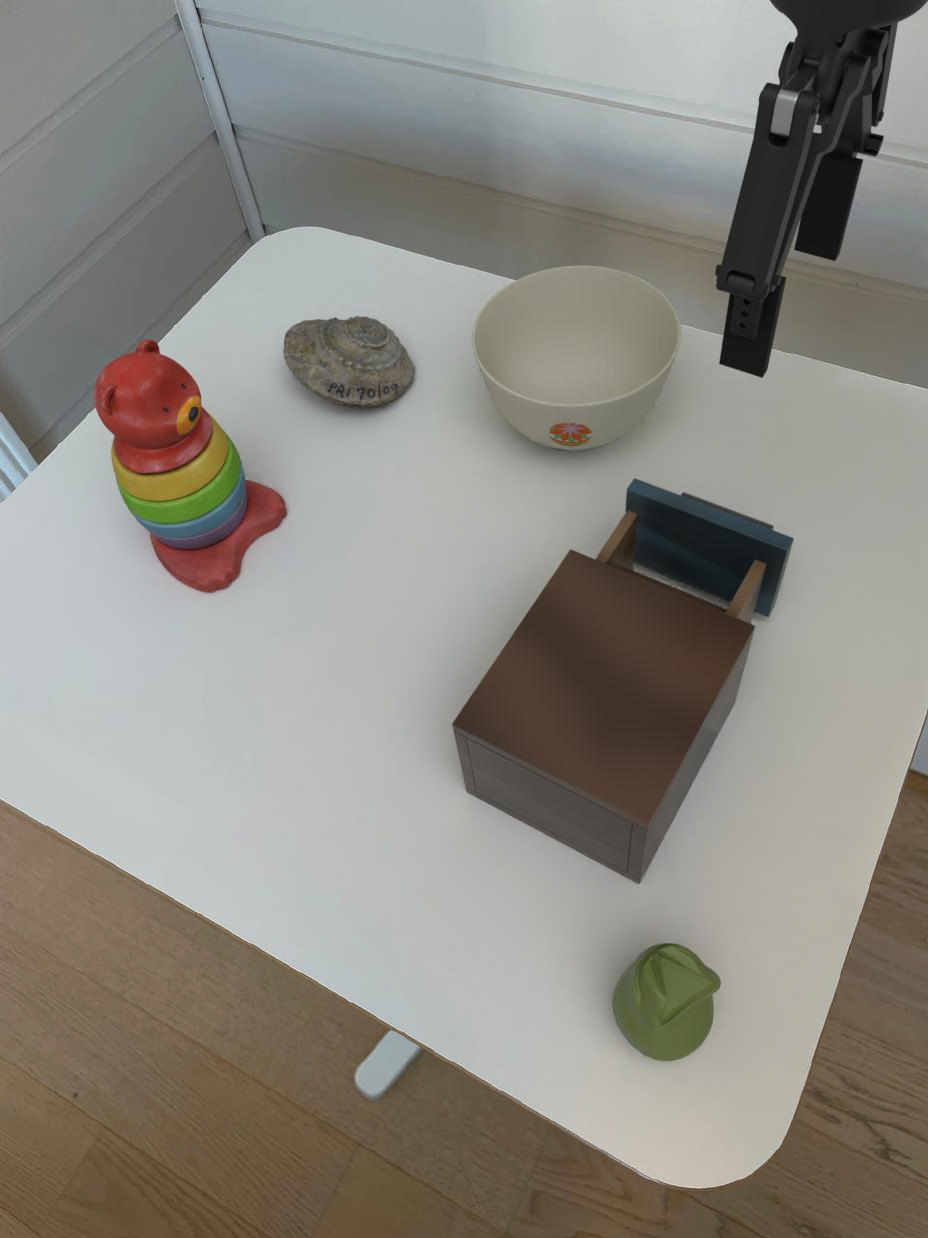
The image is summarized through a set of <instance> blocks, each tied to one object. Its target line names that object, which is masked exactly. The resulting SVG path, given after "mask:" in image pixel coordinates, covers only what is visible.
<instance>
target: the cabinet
mask: <svg viewBox="0 0 928 1238" xmlns="http://www.w3.org/2000/svg"><path fill="white" fill-rule="evenodd" d="M755 628H756V625H755V624H753V623H751V624H750V623H748V622H745V621H743V620H740V619H738V618H736V617H733V616H731V615H728V614H726V613H723V612H721V611H719V610H716V609H714V608H711V607H709V606H707V605H704V604H702V603H699V602H697V601H695V600H692V599H690V598H687V597H685V596H682V595H680V594H678V593H675V592H673V591H670V590H668V589H666V588H663V587H661V586H658V585H656V584H653V583H651V582H649V581H646V580H644V579H641V578H639V577H637V576H634V575H632V574H629V573H627V572H625V571H622V570H620V569H617V568H615V567H612V566H610V565H608V564H605V563H603V562H600V561H598V560H596V558H593V557H591V556H588V555H586V554H583V553H582V552H578V551H576V550H574V549H569V551H567V554H566V555H565V557H564V558H563V559H562V561H561V563H559V565H558V567H557V568H556V569H555V571H554V573H553V574H552V576H551V577H550V579H549V580H548V582H547V583H546V584H545V586H544V588H543V589H542V590H541V592H540V593H539V594H538V596H537V598H536V599H535V600H534V602H533V604H532V605H531V606H530V608H529V609H528V611H527V612H526V614H525V616H524V617H523V619H522V620H521V621H520V623H519V624H518V626H517V627H516V628H515V630H514V631H513V633H512V634H511V636H510V637H509V639H508V640H507V642H506V644H505V645H504V646H503V648H502V649H501V651H500V652H499V654H498V655H497V656H496V658H495V660H494V661H493V663H492V664H491V665H490V667H489V669H488V670H487V672H486V673H485V674H484V676H483V677H482V679H480V680H481V681H480V682H479V683H478V685H477V686H476V688H475V689H474V691H473V692H472V694H471V695H470V697H469V698H468V700H467V701H466V703H465V704H464V705H463V707H462V708H461V710H460V711H459V713H458V714H457V716H456V717H455V719H454V720H453V722H452V723H451V725H452V730H453V735H454V736H453V737H454V740H455V741H454V742H455V745H456V750H457V753H458V758H459V763H460V767H461V772H462V777H463V781H464V787H465V790H466V793H468V794H470V795H471V796H474V797H475V798H477V799H479V800H480V801H483V802H485V803H486V804H488V805H490V806H492V807H494V808H496V809H498V810H499V811H501V812H504V813H505V814H507V815H509V816H510V817H513V818H515V819H516V820H518V821H520V822H522V823H523V824H525V825H527V826H529V827H531V828H533V829H535V830H537V831H538V832H541V833H542V834H545V835H546V836H549V837H550V838H552V839H554V840H555V841H558V842H559V843H561V844H563V845H565V846H567V847H569V848H570V849H572V850H574V851H577V852H578V853H579V854H582V855H583V856H585V857H587V858H589V859H591V860H593V861H595V862H597V863H599V864H600V865H602V866H605V867H606V868H608V869H610V870H612V871H614V872H615V873H617V874H619V875H621V876H623V877H624V878H627V879H628V880H630V881H632V882H634V883H636V884H638V885H640V884H641V882H642V880H643V879H644V877H645V875H646V873H647V870H648V869H649V867H650V865H651V863H652V861H653V859H654V857H655V855H656V854H657V852H658V850H659V848H660V846H661V844H662V843H663V840H664V838H665V836H666V835H667V833H668V831H669V829H670V828H671V825H672V824H673V821H674V819H676V818H675V817H676V816H677V814H678V812H679V811H680V808H681V806H682V805H683V802H684V800H685V799H686V798H687V797H686V796H687V795H688V793H689V791H690V789H691V787H692V785H693V784H694V782H695V780H696V777H697V776H698V774H699V772H700V770H701V768H702V767H703V765H704V763H705V761H706V759H707V757H708V755H709V753H710V751H711V749H712V747H713V746H714V743H715V742H716V740H717V738H718V736H719V735H720V732H721V730H722V728H723V727H724V724H725V723H726V721H727V719H728V717H729V715H730V713H731V712H732V709H733V708H734V706H735V704H736V700H737V697H738V694H739V693H738V692H739V688H740V686H741V681H742V678H743V675H744V671H745V666H746V663H747V659H748V655H749V651H750V648H751V644H752V640H753V637H754V633H755Z"/></svg>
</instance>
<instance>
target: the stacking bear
mask: <svg viewBox="0 0 928 1238" xmlns="http://www.w3.org/2000/svg"><path fill="white" fill-rule="evenodd" d="M93 399H94V400H93V401H94V406H95V410H96V413H97V415H98V417H99V419H100V422H101V423H102V424H103V426H104V427H105V428H106V429H107V430H108V431H109V432H110V433H111V434H112V435H114V436H113V440H112V441H111V447H110V459H111V464H112V469H113V472H114V475H115V481H116V484H117V489H118V491H119V493H120V496H121V498H122V501H123V502H124V504H125V505H126V507H127V509H128V511H129V512H130V514H131V515H132V516H133V517H134V519H135V520H136V521H137V522H138V523H139V524H140V525H141V526H142V527H144V529H146V531H148V532H149V538H150V542H151V545H152V548H153V551H154V553H155V556H156V557H157V559H158V560H159V562H160V563H161V565H162V566H163V568H165V569H166V571H167V572H168V573H169V574H170V575H171V576H172V577H174V578H175V579H176V580H177V581H179V582H181V583H182V584H184V585H186V586H187V587H189V588H192V589H194V590H198V591H199V592H205V593H213V592H215V591H218V590H224V589H226V588H227V587H228V586H230V585H231V583H232V582H233V581H235V580H236V579H237V578H238V577H239V574H240V572H241V567H242V560H243V557H244V555H245V553H246V550H247V549H248V548H249V547H250V545H252V544H253V542H254V541H255V540H256V539H258V538H259V537H261V536H263V535H265V534H267V533H269V532H271V531H273V530H275V529H276V528H277V527H279V526H280V525H281V523H282V520H284V518H285V517H286V516H287V514H288V513H287V508H286V502H285V500H284V498H283V496H282V495H281V494H280V493H279V492H278V491H276V490H275V489H273V488H271V487H268V486H266V485H265V484H261V483H260V482H256V481H253V480H249V479H246V473H245V471H244V466H243V462H242V459H241V456H240V453H239V451H238V449H237V447H236V445H235V444H234V442H233V441H232V439H231V437H230V436H229V435H228V433H227V432H226V431H225V430H224V429H223V428H222V427H221V425H220V424H219V422H217V420H216V419H215V418H214V417H213V416H212V415H211V414H210V413H209V412H208V411H207V410H206V409H205V407H203V406H202V394H201V390H200V388H199V385H198V383H197V382H196V380H195V379H194V377H193V376H192V375H191V373H190V372H189V371H188V370H187V369H186V368H185V367H183V366H182V364H181V363H179V362H177V361H176V360H175V359H173V358H171V357H169V356H167V355H165V354H161V352H160V347H159V344H158V343H157V342H156V341H155V340H153V339H144V340H141V341H140V342H139V343H138V344H137V346H136V348H135V351H134V352H130V353H125V354H122V355H120V356H118V357H116V358H115V359H113V360H112V361H110V362H109V363H107V364H106V365H105V367H104V368H102V369H101V371H100V373H99V375H98V377H97V379H96V382H95V386H94V391H93Z"/></svg>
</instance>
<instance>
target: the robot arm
mask: <svg viewBox="0 0 928 1238" xmlns="http://www.w3.org/2000/svg"><path fill="white" fill-rule="evenodd" d="M769 2H770V3H771V4H772V6H773V7H774V8H775V9H776V10H777V11H778V12H779V13H781V14H783V15H784V16H785V17H786V18H787V19H788V20H789V21H790V22H791V23H792V24H793V26H794V27H795V29H796V36H795V38H794V41H788V43H787V45H786V47H785V49H784V52H783V55H782V57H781V61H780V63H779V64H780V65H779V66H778V67H779V68H778V71H777V76H778V81H779V84H777V83H773V82H766V83H765V85H764V87H763V88H762V90H761V91H760V93H759V96H758V106H757V112H756V119H755V126H754V131H753V137H752V143H751V146H750V149H749V154H748V158H747V162H746V166H745V169H744V174H743V177H742V182H741V186H740V189H739V194H738V198H737V201H736V206H735V209H734V213H733V216H732V221H731V225H730V229H729V232H728V237H727V241H726V244H725V249H724V253H723V256H722V261H721V264H716V267H715V271H714V273H715V276H716V283H715V287H716V290H717V291H721V292H724V293H727V294H729V296H728V304H727V310H726V315H725V322H724V329H723V335H722V342H721V349H720V354H719V361H718V364H719V365H720V366H724V367H728V368H730V369H734V370H737V371H739V372H742V373H746V374H749V375H752V376H755V377H757V378H764V376H765V375H766V373H767V371H768V368H769V364H770V359H771V356H772V355H771V354H772V349H773V344H774V339H775V336H776V330H777V326H778V325H777V324H778V320H779V316H780V310H781V306H782V300H783V297H784V290H785V286H786V281H787V277H786V276H783V275H782V274H783V271H784V267H785V265H786V262H787V259H788V255H789V253H790V250H791V248H792V244H793V242H794V239H795V235H796V233H797V235H796V239H795V244H794V249H793V251H796V252H799V253H803V254H808V255H811V256H814V257H817V258H822V259H825V260H830V261H833V262H836V260H837V259H838V257H839V256H840V253H841V249H842V247H843V246H842V245H843V242H844V237H845V233H846V230H847V227H848V222H849V218H850V213H851V209H852V206H853V202H854V197H855V194H856V190H857V186H858V183H859V178H860V175H861V170H862V167H863V163H864V159H863V158H860V157H857V156H858V154H861V155H865V156H870V157H874V158H876V157H877V156H878V155H879V152H880V151H881V148H882V146H883V142H884V139H885V135H882V134H879V133H878V134H877V133H873V132H872V128H877V127H878V125H879V124H880V122H882V121H883V119H884V114H885V112H884V109H885V105H886V104H885V103H886V99H887V92H888V86H889V81H890V80H889V79H890V74H891V67H892V62H893V55H894V49H895V43H896V42H895V41H896V36H897V31H898V25H899V23H900V22H902V21H904V20H907V19H908V18H909V17H912V16H913V15H914V14H916V13H918V12H919V11H920V10H921V9H922V8H923V7H924V6H925V5H926V4H927V3H928V0H769ZM815 126H818V127H819V126H820V132H815V131H814V129H815Z"/></svg>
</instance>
